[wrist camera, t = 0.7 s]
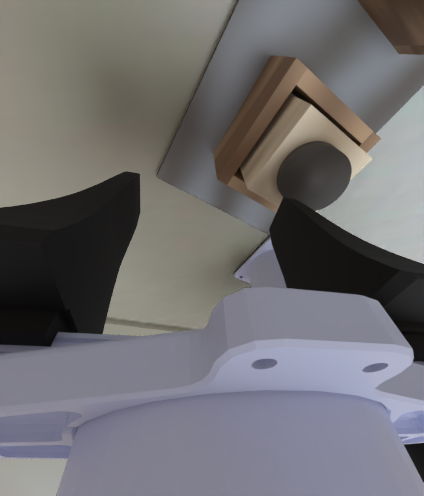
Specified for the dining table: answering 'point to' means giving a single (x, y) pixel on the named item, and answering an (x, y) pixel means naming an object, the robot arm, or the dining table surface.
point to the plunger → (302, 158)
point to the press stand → (293, 87)
